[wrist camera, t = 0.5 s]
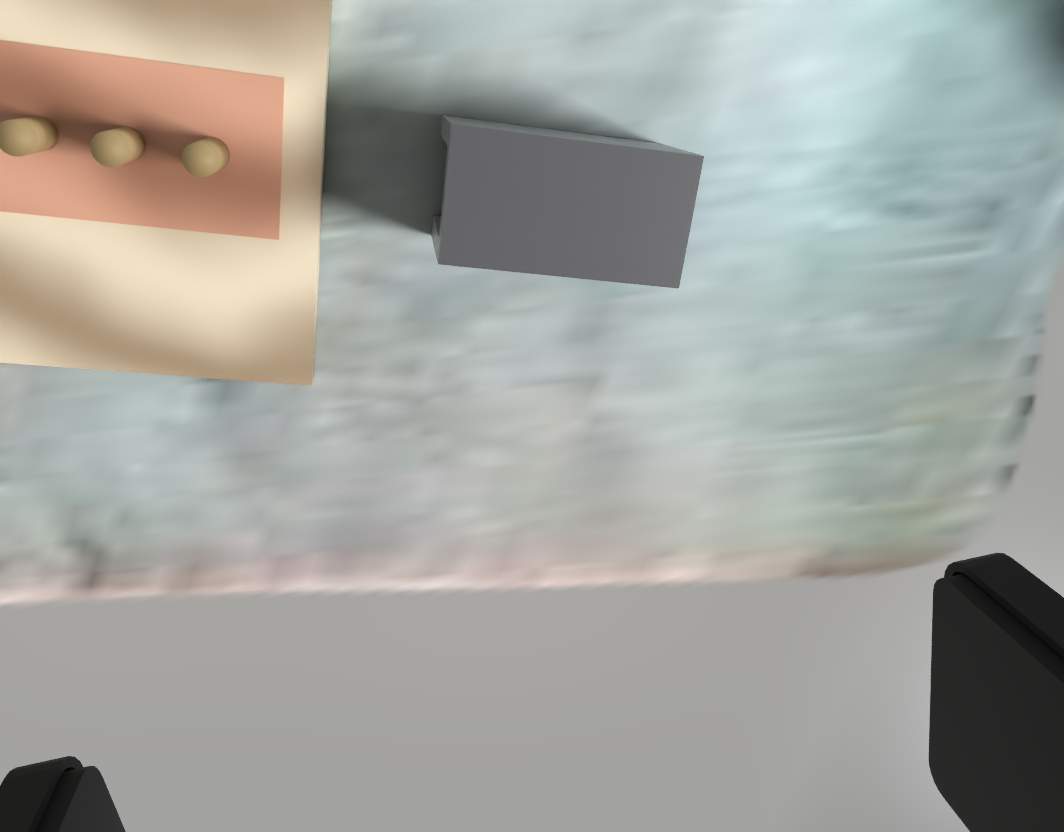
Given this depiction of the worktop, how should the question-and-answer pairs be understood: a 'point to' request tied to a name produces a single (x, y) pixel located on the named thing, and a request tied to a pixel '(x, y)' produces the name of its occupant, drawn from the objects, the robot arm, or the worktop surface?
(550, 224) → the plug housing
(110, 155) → the pin board
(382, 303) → the worktop surface
